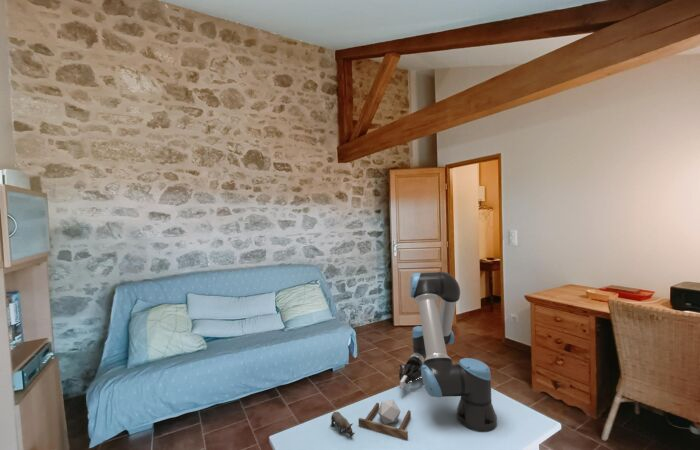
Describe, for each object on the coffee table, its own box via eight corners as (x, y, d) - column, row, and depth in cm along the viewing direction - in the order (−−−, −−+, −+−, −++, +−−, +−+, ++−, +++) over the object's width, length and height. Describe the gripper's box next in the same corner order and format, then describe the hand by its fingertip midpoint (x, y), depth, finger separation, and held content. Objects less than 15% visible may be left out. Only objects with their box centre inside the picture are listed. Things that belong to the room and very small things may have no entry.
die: (397, 431, 124) (406, 405, 128) (378, 421, 124) (387, 396, 128) (390, 426, 132) (398, 402, 136) (372, 417, 131) (380, 393, 135)
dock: (416, 419, 130) (416, 412, 130) (407, 440, 118) (406, 432, 118) (371, 408, 139) (371, 401, 139) (358, 426, 127) (358, 419, 127)
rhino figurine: (349, 444, 117) (349, 427, 117) (328, 425, 128) (328, 411, 128) (358, 438, 120) (357, 423, 120) (337, 421, 131) (336, 407, 131)
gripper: (428, 372, 163) (415, 396, 142) (403, 368, 169) (388, 390, 148) (427, 358, 163) (415, 379, 142) (403, 354, 169) (387, 374, 148)
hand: (401, 384), depth 145 cm, fingers closed
